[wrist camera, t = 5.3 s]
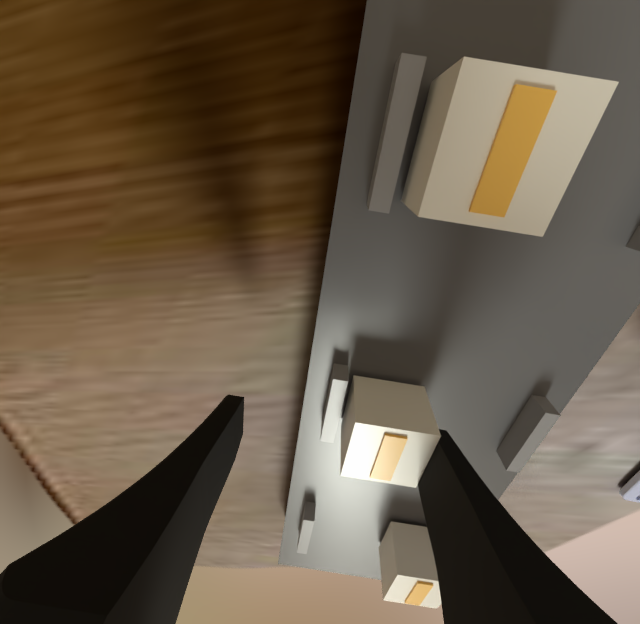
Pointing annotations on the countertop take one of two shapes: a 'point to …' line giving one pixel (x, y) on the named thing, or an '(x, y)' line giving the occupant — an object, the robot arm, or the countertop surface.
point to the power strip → (462, 267)
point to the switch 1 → (408, 566)
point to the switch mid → (387, 432)
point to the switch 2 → (501, 144)
